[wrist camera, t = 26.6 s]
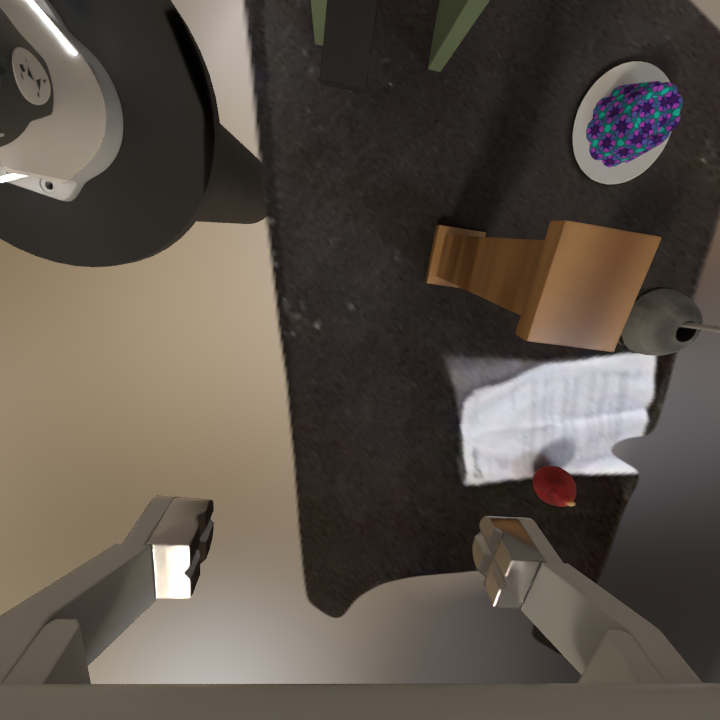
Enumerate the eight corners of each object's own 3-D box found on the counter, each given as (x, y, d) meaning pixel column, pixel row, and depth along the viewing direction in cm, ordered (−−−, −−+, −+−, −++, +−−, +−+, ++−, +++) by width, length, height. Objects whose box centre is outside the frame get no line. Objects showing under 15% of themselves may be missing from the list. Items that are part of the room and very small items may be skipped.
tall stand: (424, 281, 45) (526, 341, 21) (436, 224, 43) (566, 219, 19) (468, 288, 46) (613, 352, 22) (482, 232, 44) (662, 237, 20)
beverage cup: (550, 328, 49) (685, 389, 30) (557, 275, 46) (710, 307, 28) (600, 324, 49) (764, 382, 30) (610, 271, 46) (796, 300, 28)
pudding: (671, 48, 38) (721, 22, 33) (667, 167, 42) (711, 159, 38) (564, 84, 39) (598, 63, 34) (572, 198, 43) (602, 194, 38)
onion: (532, 489, 59) (561, 527, 52) (517, 467, 57) (545, 503, 50) (563, 472, 58) (596, 508, 51) (549, 449, 56) (582, 483, 49)
